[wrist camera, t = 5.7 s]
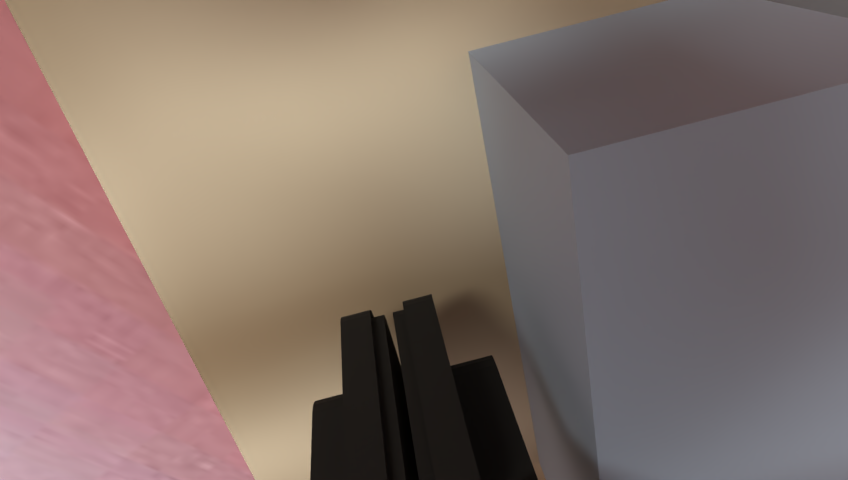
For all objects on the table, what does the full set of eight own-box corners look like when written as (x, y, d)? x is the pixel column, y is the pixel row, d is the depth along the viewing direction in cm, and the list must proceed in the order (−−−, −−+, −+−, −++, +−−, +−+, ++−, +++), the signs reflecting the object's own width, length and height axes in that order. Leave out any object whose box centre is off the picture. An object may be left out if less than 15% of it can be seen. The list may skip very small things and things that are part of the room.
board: (1080, 367, 18) (1127, 396, 17) (320, 561, 17) (319, 603, 16) (1449, -369, 9) (1588, -404, 8) (22, -49, 9) (-18, -43, 8)
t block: (934, 358, 15) (1155, 523, 11) (539, 463, 14) (617, 669, 11) (1073, -104, 9) (1591, -111, 6) (467, 51, 9) (567, 154, 5)
